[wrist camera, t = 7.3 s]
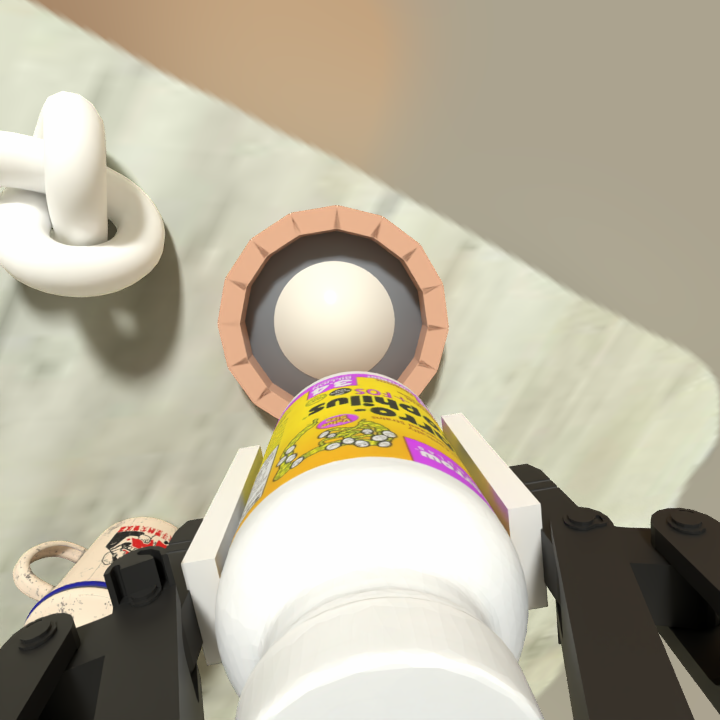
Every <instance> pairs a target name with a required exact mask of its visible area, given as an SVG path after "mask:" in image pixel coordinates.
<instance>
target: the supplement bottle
mask: <svg viewBox="0 0 720 720" xmlns="http://www.w3.org/2000/svg"><path fill="white" fill-rule="evenodd" d="M527 623H528V594H527V586H526V581H525V576H524V571H523V568H522V565H521V562H520V559H519V556H518V553H517V551H516V549H515V547H514V544H513V542H512V540H511V539H510V537H509V535H508V533H507V531H506V530H505V528H504V527H503V525H502V524H501V522H500V520H499V519H498V517H497V516H496V514H495V512H494V511H493V509H492V508H491V506H490V505H489V503H488V502H487V500H486V499H485V497H484V496H483V494H482V493H481V491H480V490H479V488H478V486H477V485H476V483H475V482H474V480H473V478H472V477H471V475H470V474H469V472H468V471H467V469H466V468H465V466H464V465H463V463H462V462H461V460H460V459H459V457H458V455H457V454H456V452H455V451H454V449H453V447H452V446H451V445H450V443H449V441H448V440H447V438H446V436H445V435H444V433H443V432H442V430H441V429H440V427H439V425H438V424H437V422H436V421H435V419H434V418H433V416H432V414H431V413H430V411H429V410H428V409H427V407H426V406H425V405H424V403H423V402H422V401H421V400H420V398H419V397H418V396H417V395H416V394H415V393H414V392H413V391H411V390H410V389H409V388H408V387H406V386H405V385H403V384H401V383H400V382H398V381H396V380H394V379H392V378H390V377H387V376H385V375H381V374H378V373H372V372H364V371H350V372H342V373H337V374H333V375H330V376H327V377H324V378H322V379H320V380H318V381H316V382H314V383H312V384H311V385H309V386H308V387H306V388H305V389H303V390H302V391H301V392H300V393H299V394H297V395H296V396H295V397H294V398H293V399H292V401H291V402H290V403H289V404H288V406H287V407H286V409H285V410H284V412H283V413H282V415H281V417H280V419H279V421H278V423H277V425H276V427H275V429H274V432H273V435H272V437H271V440H270V442H269V445H268V447H267V450H266V453H265V455H264V458H263V461H262V464H261V466H260V469H259V472H258V474H257V476H256V479H255V482H254V485H253V488H252V490H251V493H250V496H249V499H248V501H247V504H246V506H245V509H244V512H243V514H242V517H241V519H240V522H239V525H238V527H237V530H236V533H235V535H234V538H233V540H232V543H231V545H230V548H229V551H228V555H227V558H226V561H225V564H224V567H223V570H222V573H221V577H220V581H219V585H218V590H217V595H216V605H215V633H216V639H217V644H218V649H219V654H220V657H221V661H222V664H223V666H224V669H225V671H226V674H227V676H228V679H229V681H230V682H231V684H232V686H233V688H234V690H235V692H236V694H237V695H238V696H239V698H240V699H239V702H238V706H237V711H236V717H235V720H545V719H544V717H543V715H542V713H541V711H540V708H539V706H538V704H537V701H536V699H535V697H534V695H533V693H532V691H531V688H530V686H529V684H528V682H527V680H526V678H525V675H524V673H523V671H522V669H521V667H520V666H519V664H518V661H519V658H520V655H521V652H522V649H523V645H524V641H525V637H526V632H527Z"/></svg>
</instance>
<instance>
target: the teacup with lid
mask: <svg viewBox="0 0 720 720" xmlns="http://www.w3.org/2000/svg"><path fill="white" fill-rule="evenodd" d="M177 530H178V528H177V527H175V526H173V525H172V524H170V523H168V522H165V521H163V520H159V519H155V518H149V517H136V518H130V519H126V520H123V521H120V522H118V523H116V524H114V525H112V526H110V527H109V528H108V529H106V530H105V531H104V532H103V533H102V534H101V535H100V536H99V537H98V538H97V540H96V541H95V542H94V543H93V544H92V545H91V547H90V548H89V549H86V548H84V547H82V546H79V545H77V544H74V543H71V542H67V541H50V542H45V543H42V544H39V545H37V546H35V547H33V548H31V549H29V550H28V551H27V552H25V553H24V554H23V555H22V556H21V558H20V559H19V560H18V562H17V564H16V565H15V567H14V570H13V579H14V582H15V584H16V586H17V588H18V589H19V590H20V591H21V592H22V593H24V594H25V595H27V596H28V597H30V598H32V599H34V600H36V601H38V603H37V604H36V605H35V606H34V608H33V609H32V610H31V612H30V613H29V615H28V617H27V619H26V621H25V624H24V626H25V625H27V624H29V623H30V622H32V621H33V622H34V621H35V620H36V619H38V618H41V617H45V616H48V615H51V614H55V613H67V614H70V615H72V618H73V620H74V623H75V626H76V628H77V627H80V626H82V625H85V624H88V623H90V622H93V621H96V620H98V619H101V618H103V617H106V616H108V615H110V614H112V611H113V606H112V602H111V599H110V596H109V592H108V589H107V586H106V583H105V579H104V576H103V575H104V573H105V571H106V569H107V568H108V567H109V566H110V565H111V564H112V563H113V562H114V561H115V560H117V559H118V558H120V557H122V556H123V555H125V554H127V553H129V552H131V551H134V550H136V549H139V548H143V547H147V546H160V547H163V548H166V547H167V545H169V542H170V540H171V538H172V537H173V535H174V533H175V532H176V531H177ZM45 557H61V558H65V559H67V560H70V561H72V562H74V563H76V564H75V565H74V566H73V568H72V569H71V570H70V571H69V572H68V573H67V575H66V576H65V577H64V578H63V579H62V580H61V582H60V583H59V584H58V585H57V586H56V587H55V586H53V585H51V584H49V583H47V582H45V581H43V580H41V579H39V578H38V577H36V576H35V575H34V574H33V572H32V571H31V568H30V564H31V563H32V562H34V561H36V560H39V559H42V558H45Z"/></svg>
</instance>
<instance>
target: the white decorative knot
mask: <svg viewBox="0 0 720 720" xmlns="http://www.w3.org/2000/svg"><path fill="white" fill-rule="evenodd" d="M2 187H6V188H5V189H4V190H3V191H2V193H1V194H0V265H1V266H2V267H3V268H4V269H5V270H6V271H7V272H8V273H9V274H10V275H11V276H13V277H14V278H15V279H16V280H18V281H20V282H22V283H23V284H25V285H27V286H29V287H31V288H34V289H37V290H40V291H43V292H45V293H50V294H55V295H60V296H67V297H92V296H102V295H106V294H110V293H114V292H118V291H120V290H122V289H124V288H126V287H129V286H131V285H133V284H134V283H136V282H137V281H139V280H140V279H142V278H143V277H144V276H146V275H147V274H148V273H150V272H151V271H152V269H153V268H154V267H155V266H156V265H157V263H158V262H159V259H160V257H161V255H162V253H163V247H164V240H165V229H164V223H163V220H162V217H161V215H160V213H159V211H158V209H157V208H156V206H155V204H154V203H153V202H152V200H151V199H150V198H149V197H148V195H147V194H146V193H145V192H144V191H143V190H142V189H141V188H140V187H138V186H137V185H136V184H135V183H134V182H132V181H131V180H130V179H128V178H127V177H125V176H123V175H122V174H120V173H118V172H116V171H114V170H113V169H111V168H109V167H107V166H106V140H105V129H104V123H103V120H102V119H101V117H100V115H99V114H98V112H97V110H96V109H95V107H94V105H93V104H92V103H91V102H89V101H88V100H86V99H85V98H84V97H82V96H81V95H79V94H76V93H70V92H64V91H62V92H60V93H57V94H55V95H52V96H50V97H48V98H47V100H46V102H45V104H44V106H43V108H42V110H41V112H40V115H39V118H38V122H37V125H36V128H35V132H34V135H33V137H31V136H27V135H23V134H18V133H13V132H6V131H0V188H2ZM107 218H108V219H110V220H111V221H112V222H113V223H114V224H115V226H116V227H117V233H116V235H115V236H114V237H113V238H112V239H111V240H109V241H107V238H108V220H107ZM52 227H53V229H54V230H51V228H52Z"/></svg>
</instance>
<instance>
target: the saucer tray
mask: <svg viewBox="0 0 720 720" xmlns="http://www.w3.org/2000/svg"><path fill="white" fill-rule="evenodd" d="M251 239H252V240H250V241H249V242H248V244H247V245H246V247H245V248H244V250H243V252H242V253H241V255H240V256H239V258H238V259H237V261H236V262H235V264H234V265H233V267H232V268H231V270H230V272H229V273H228V275H227V276H226V278H227V279H225V282H224V288H223V294H222V300H221V306H220V311H219V317H218V323H219V324H218V328H219V332H220V337H221V341H222V345H223V349H224V354H225V358H226V362H227V366H228V367H229V368H228V369H229V370H230V371H231V373H232V374H233V376H234V377H235V378H236V380H237V381H238V383H239V384H240V385H241V387H242V388H243V389H244V391H245V392H246V394H247V395H248V396H249V398H250V399H251V401H252V402H253V403H255V405H256V406H258V407H260V408H261V409H263V410H264V411H266V412H267V413H269V414H271V415H272V416H274V417H275V418H277V419H280V417H281V415H282V413H283V412H284V410H285V409H286V407H287V406H288V404H289V403H290V402H291V401H292V399H293V398H294V397H295V396H296V395H297V394H299V393H300V392H301V391H302V390H303V389H305V388H306V387H308V386H309V385H311V384H312V383H314V382H316V381H318V380H320V379H322V378H324V377H327V376H330V375H333V374H337V373H342V372H350V371H364V372H372V373H378V374H381V375H385V376H387V377H390V378H392V379H394V380H396V381H398V382H400V383H401V384H403V385H405V386H406V387H408V388H409V389H410V390H411V391H413V392H414V393H415V394H416V395H417V396H419V395H420V394H421V392H422V391H423V390H424V388H425V387H426V386H427V384H428V383H429V382H430V380H431V379H432V378H433V376H434V375H435V373H436V372H437V370H438V367H439V364H440V360H441V356H442V352H443V349H444V345H445V341H446V337H447V334H448V330H449V329H448V328H449V325H448V318H447V310H446V302H445V294H444V287H443V283H442V281H441V279H440V278H439V276H438V274H437V272H436V271H435V269H434V267H433V266H432V264H431V262H430V260H429V259H428V257H427V255H426V253H425V252H424V250H423V248H422V247H421V245H420V244H419V243H418V242H416V241H415V240H414V239H412V238H411V237H410V236H408V235H407V234H406V233H405V232H403V231H402V230H401V229H399V228H398V227H397V226H395V225H394V224H393V223H391V222H390V221H389V220H387V219H386V218H385V217H383V218H382V216H380V215H376V214H372V213H367V212H363V211H359V210H355V209H351V208H347V207H343V206H339V205H338V206H337V205H334V206H329V207H323V208H317V209H311V210H305V211H299V212H293V213H291V214H288V215H286V216H285V217H283V218H282V219H280V220H279V221H277V222H276V223H274V224H273V225H271V226H270V227H268V228H267V229H265V230H264V231H262V232H261V233H259V234H258V235H256V236H255V237H253V238H251Z"/></svg>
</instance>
